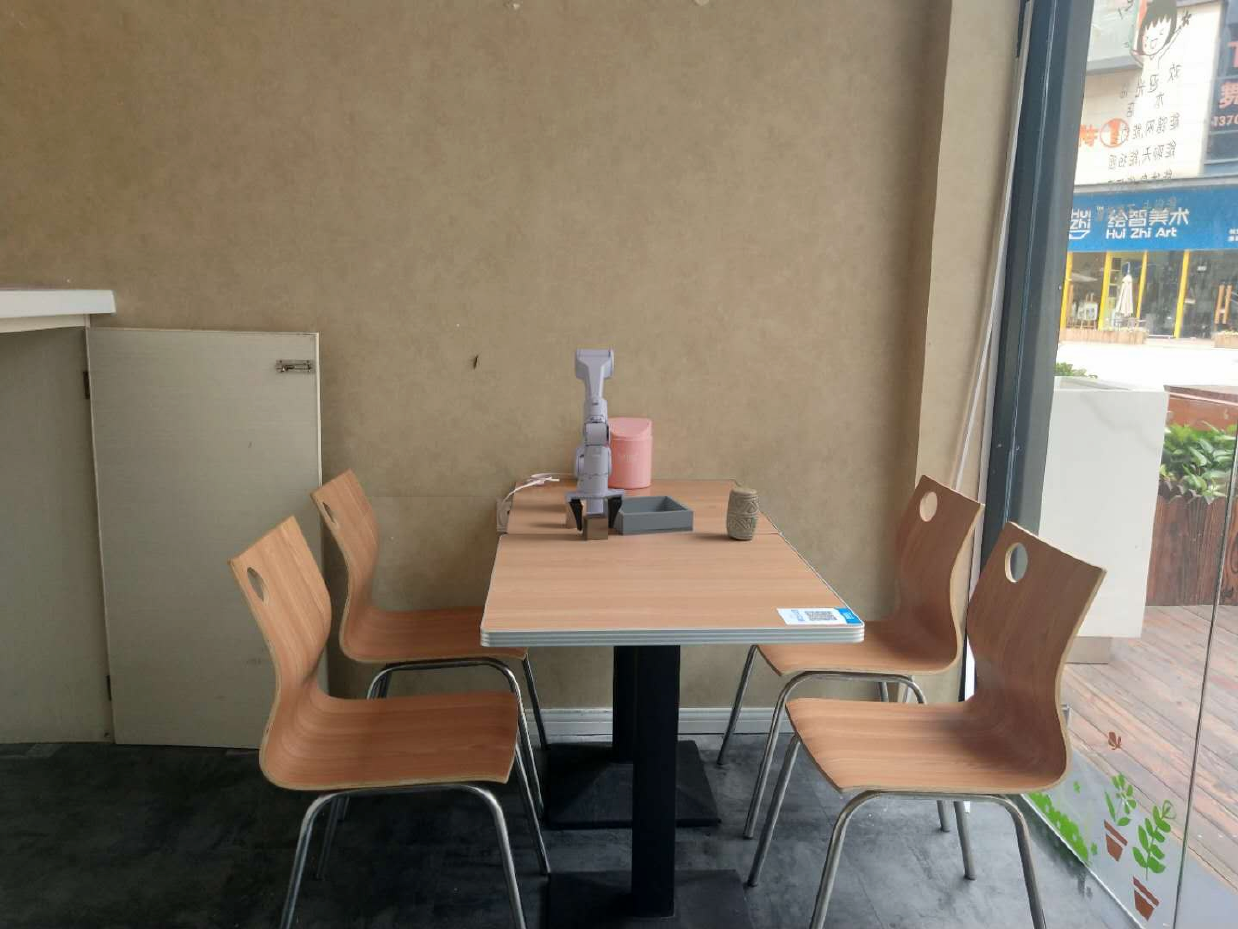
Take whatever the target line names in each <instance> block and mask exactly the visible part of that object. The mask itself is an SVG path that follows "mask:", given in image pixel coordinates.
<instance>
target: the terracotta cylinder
mask: <svg viewBox="0 0 1238 929" xmlns="http://www.w3.org/2000/svg"><path fill="white" fill-rule="evenodd" d="M580 501H581V504H582V505H583V511H582V516H585V515H586V500H580ZM565 527H566V529H570V528H577V524H576V520H575V516H574V513H573V511H572V508H571V506H570V504H569V502H567V501H565Z"/></svg>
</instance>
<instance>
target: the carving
mask: <svg viewBox="0 0 1238 929" xmlns="http://www.w3.org/2000/svg"><path fill="white" fill-rule="evenodd" d="M758 496H759V495H758V491H757V490H756V489H753V488H750V487H745V486H744V487H743V486H742V487H739V486H738V487H737V486H736V487H734V488H731V491H730V492H729V497H728V502H727V511H726V518H725V528H726V533H727V535H729V536H730V537H732V538H734V539H737V540H741V541H742V540H743V541H749V540H752V539H753V538H754V536H755V532H756V528H757V525H758V517H759V504H758V502H759V501H758V500H759V497H758Z"/></svg>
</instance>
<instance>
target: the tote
mask: <svg viewBox="0 0 1238 929" xmlns="http://www.w3.org/2000/svg"><path fill="white" fill-rule="evenodd" d="M621 500H622V501H623V503H622V506H621V507H620V509H619V511H618V513H617V516H616V519H615V522H614V527H613V529H615V528H616V530H617V532H619V534H621V535H622V536H632V535H633V534H636V535H647V534H661V533H676V532H677V533H678V532H689V531H691V532H692V531H694V510H692V509H691V508H690V507H688V506H686V505H685V504H683V503H682V502H680V501H678V499H676V498H674V497H672V496H671V495H669V494H662V495H661V494H660V495H659V494H658V495H646V496H645V495H643V496H628V497H627V496H626V499H621ZM603 515H604V516H605V517H606V518H607V519H608V501H607V499H603Z"/></svg>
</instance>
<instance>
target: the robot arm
mask: <svg viewBox="0 0 1238 929" xmlns="http://www.w3.org/2000/svg"><path fill="white" fill-rule="evenodd" d="M614 353H615V352H614V350H612V348H609V349H602V348H601V349H597V348H596V349H595V348H594V349H590V348H589V349H587V348H586V349H582V348H581V349H579V348H576V349H575V350H574V375H575V378H576V379H578V380H580V381H582V383H583V385H584V396H585V397H584V401H583V404H582V405H583V406H582V407H583V408H582V410H583V425H582V426H581V443H580V444H579V445H577V446H576V447H575V449H574V455H573V456H574V458H573V464H574V465H573V474H574V476H575V478H578V480H577V484H576V490H574V491H573V490H572V491H565V492H564V500H565V502H566V501H567V502H569V504H570V506H571V508H572V511H573V513H574V516H575V520H576V524H577V529H576V530H577V531H578V532H582V511H583V505H582V504H581V501H580V500H586V515H601V514H603V499H607V501H608V529H610V530H614V522H615V519H616V516H617V513H618V511H619V509H620V507H621V506H622V503H623V501H622V500H621V499H626V497H627V496H626V495H627V491H626V490H625V489H624V488H616V489H615V488H608V485H609V484H608V481H609V480H608V479H609V478H610V477H611V475H612V451H611V448H610V443H611V426H610V422H609V419H608V402H607V401H606V399H604V398H603V389H604V381H607V380H610V379H611V378H612V376H613V373H614V368H615V365H614V363H615V361H614V360H615V359H614V358H615V356H614Z"/></svg>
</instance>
